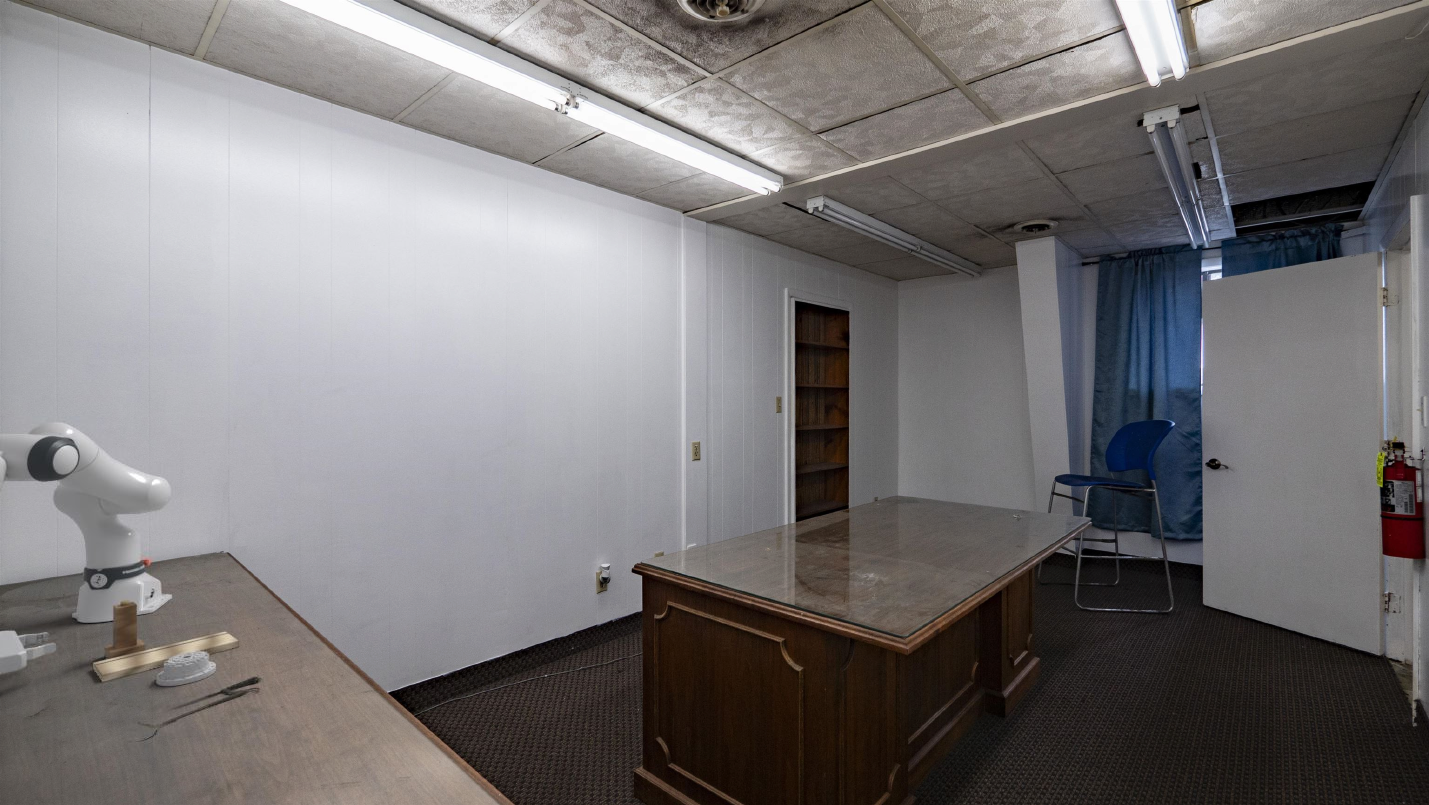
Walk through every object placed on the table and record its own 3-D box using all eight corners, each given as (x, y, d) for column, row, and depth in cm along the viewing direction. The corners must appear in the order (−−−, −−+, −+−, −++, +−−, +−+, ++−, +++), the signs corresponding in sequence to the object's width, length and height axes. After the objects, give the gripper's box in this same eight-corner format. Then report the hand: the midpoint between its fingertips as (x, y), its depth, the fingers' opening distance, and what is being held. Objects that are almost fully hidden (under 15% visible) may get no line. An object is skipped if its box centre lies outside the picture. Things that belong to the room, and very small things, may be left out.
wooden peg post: (110, 663, 143) (110, 607, 142) (104, 657, 146) (104, 602, 146) (145, 655, 147) (145, 600, 147) (138, 648, 151) (139, 596, 151)
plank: (102, 681, 133) (102, 674, 133) (93, 669, 139) (93, 662, 139) (238, 646, 152) (238, 640, 152) (225, 637, 158) (225, 631, 158)
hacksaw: (258, 680, 135) (258, 673, 135) (283, 691, 130) (283, 684, 130) (109, 731, 114) (109, 723, 114) (132, 747, 109) (132, 738, 109)
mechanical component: (143, 685, 132) (181, 689, 130) (143, 664, 132) (181, 668, 130) (191, 665, 142) (227, 669, 140) (191, 646, 142) (227, 650, 140)
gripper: (-44, 659, 120) (60, 638, 131) (-50, 635, 132) (45, 617, 143) (-44, 692, 120) (60, 668, 131) (-50, 664, 132) (45, 644, 143)
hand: (52, 641), depth 137 cm, fingers open, 8 cm apart
